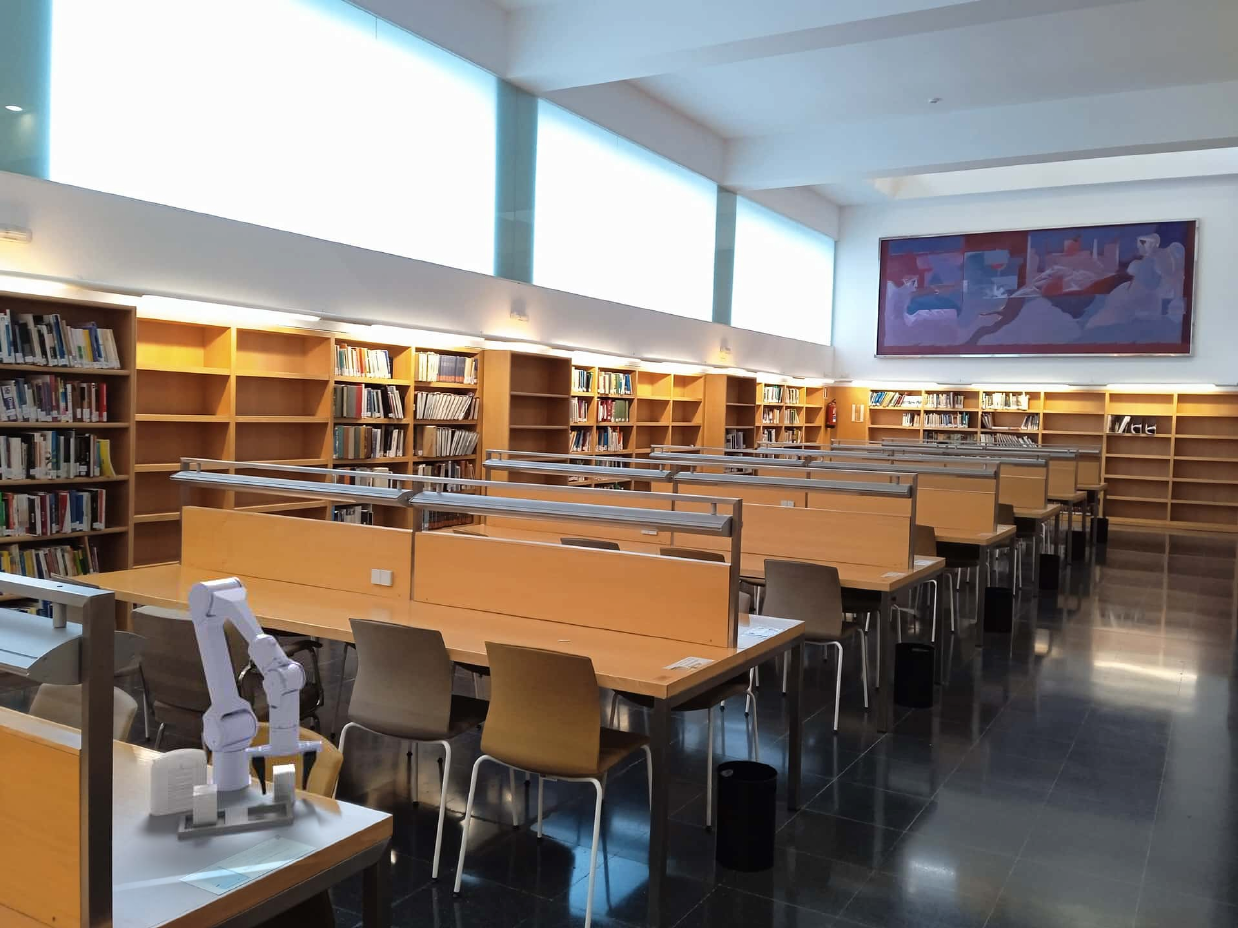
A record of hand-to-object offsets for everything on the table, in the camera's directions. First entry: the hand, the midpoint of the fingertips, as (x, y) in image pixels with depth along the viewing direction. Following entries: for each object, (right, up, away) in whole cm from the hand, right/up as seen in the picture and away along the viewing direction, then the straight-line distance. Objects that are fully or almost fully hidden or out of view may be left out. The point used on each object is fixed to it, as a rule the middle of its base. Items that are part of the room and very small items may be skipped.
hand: (284, 790), depth 197 cm
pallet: (-5, -3, -12) cm, 13 cm away
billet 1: (-10, -2, -14) cm, 17 cm away
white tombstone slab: (-19, -3, -5) cm, 20 cm away
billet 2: (0, -3, 0) cm, 3 cm away
